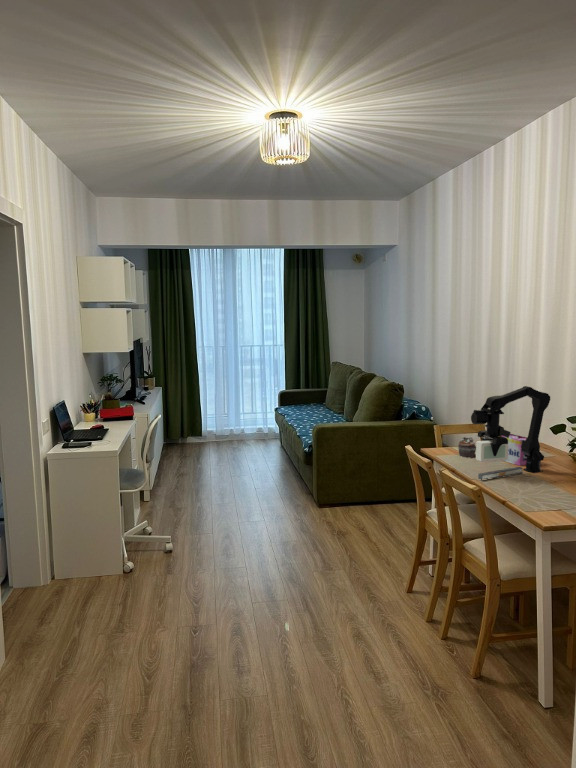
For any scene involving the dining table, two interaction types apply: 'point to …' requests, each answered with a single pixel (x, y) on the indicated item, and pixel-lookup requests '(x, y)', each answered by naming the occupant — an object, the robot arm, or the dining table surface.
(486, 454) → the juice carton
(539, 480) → the dining table surface
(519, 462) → the gum box
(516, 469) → the price rail
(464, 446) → the cupcake
